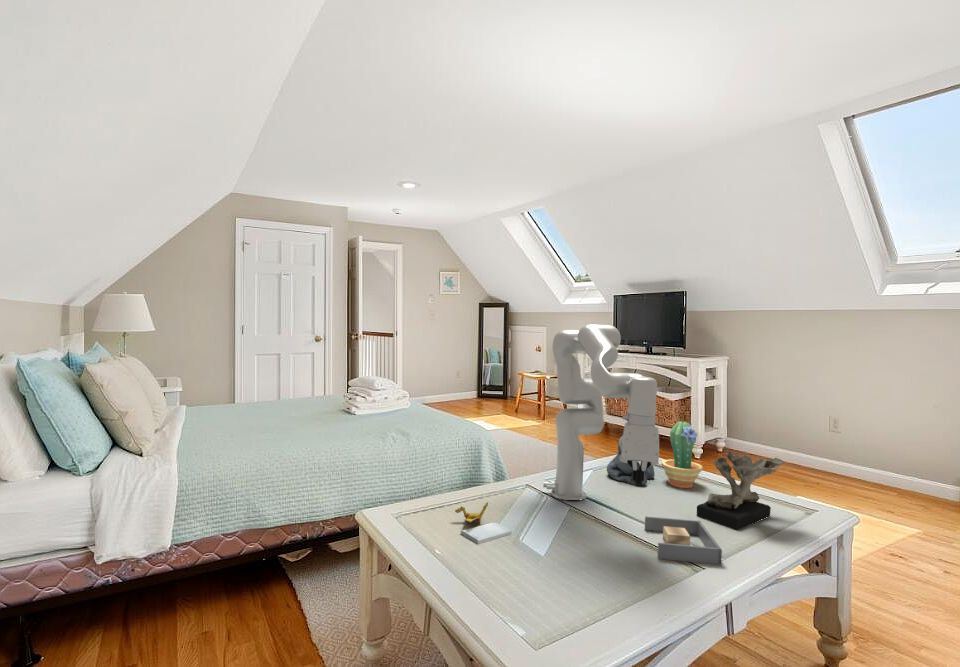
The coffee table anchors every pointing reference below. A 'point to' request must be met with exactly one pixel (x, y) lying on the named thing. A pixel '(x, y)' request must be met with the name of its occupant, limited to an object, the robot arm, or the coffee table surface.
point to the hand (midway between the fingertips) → (637, 483)
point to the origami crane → (471, 514)
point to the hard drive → (486, 532)
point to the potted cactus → (682, 457)
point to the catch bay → (686, 552)
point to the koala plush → (626, 469)
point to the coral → (738, 493)
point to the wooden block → (676, 535)
